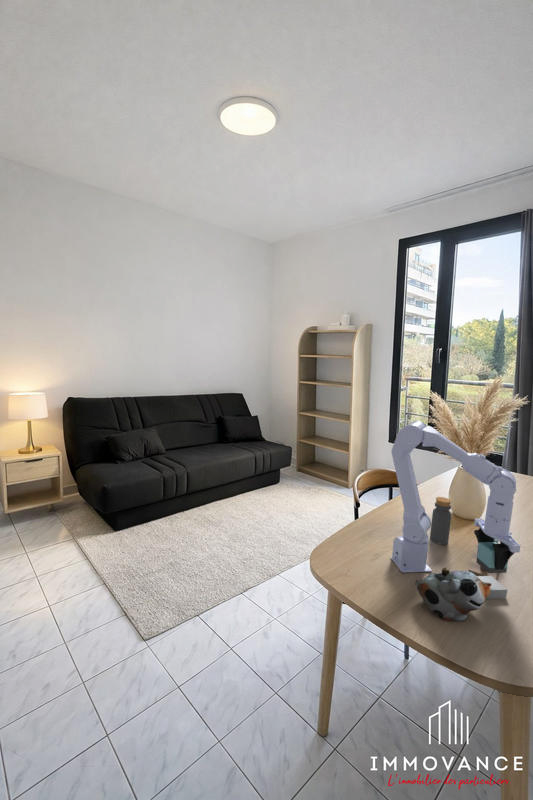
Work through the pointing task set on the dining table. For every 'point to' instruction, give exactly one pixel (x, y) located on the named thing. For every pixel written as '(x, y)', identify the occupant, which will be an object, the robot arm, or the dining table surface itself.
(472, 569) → the peg board
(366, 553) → the dining table surface
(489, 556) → the sleeve
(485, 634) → the dining table surface
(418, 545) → the robot arm
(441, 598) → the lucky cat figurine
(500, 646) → the dining table surface
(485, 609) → the dining table surface
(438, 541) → the bottle
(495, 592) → the block
